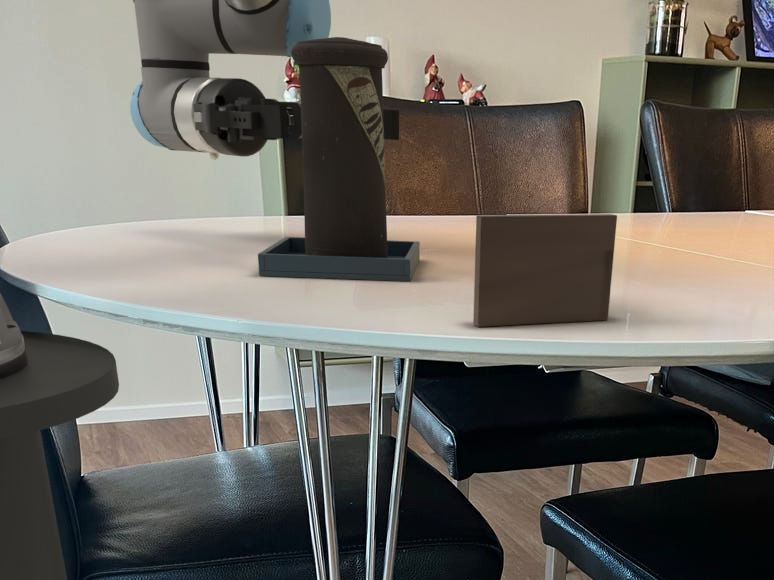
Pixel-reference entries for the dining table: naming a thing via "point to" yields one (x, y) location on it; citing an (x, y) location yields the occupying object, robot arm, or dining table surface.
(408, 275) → the tray
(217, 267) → the dining table surface
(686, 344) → the dining table surface
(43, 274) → the dining table surface
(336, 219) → the container
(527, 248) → the brown wooden block
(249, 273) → the dining table surface
